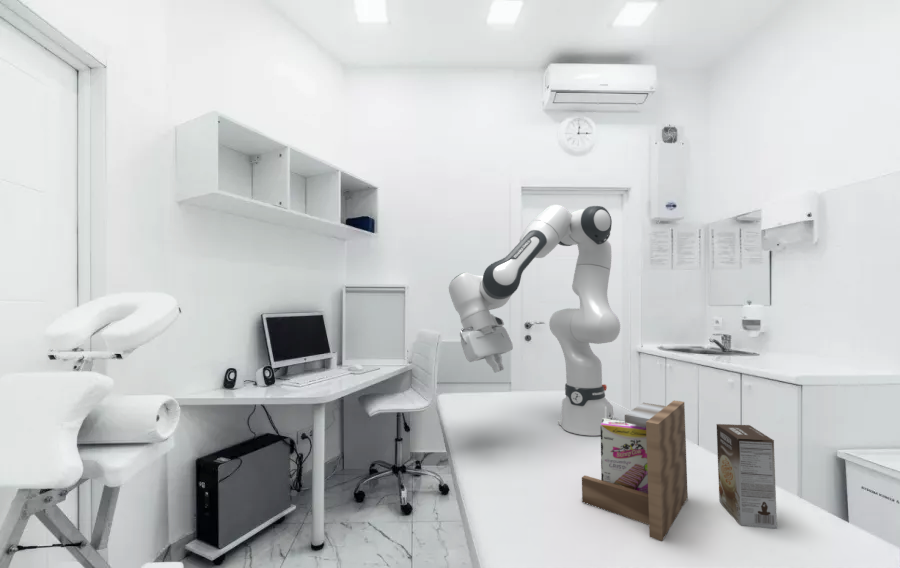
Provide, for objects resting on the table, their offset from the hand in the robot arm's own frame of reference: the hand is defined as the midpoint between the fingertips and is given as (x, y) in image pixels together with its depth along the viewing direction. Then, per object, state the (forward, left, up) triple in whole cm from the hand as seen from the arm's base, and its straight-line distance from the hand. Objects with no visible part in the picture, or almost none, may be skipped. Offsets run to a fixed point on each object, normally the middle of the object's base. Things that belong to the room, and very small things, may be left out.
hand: (499, 371), depth 111 cm
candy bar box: (+6, +36, -23) cm, 43 cm away
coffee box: (-5, +54, -23) cm, 59 cm away
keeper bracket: (+5, +35, -22) cm, 42 cm away
